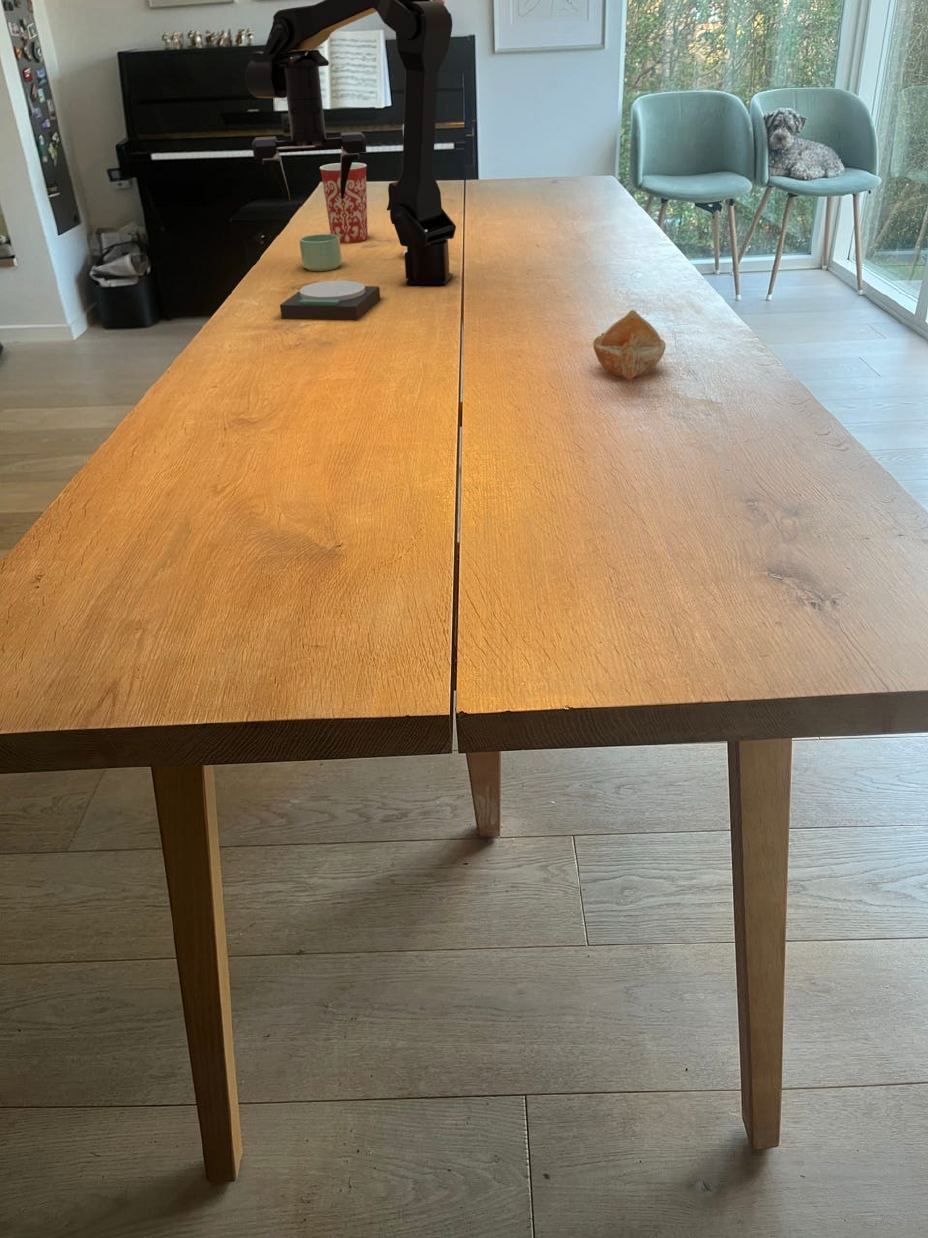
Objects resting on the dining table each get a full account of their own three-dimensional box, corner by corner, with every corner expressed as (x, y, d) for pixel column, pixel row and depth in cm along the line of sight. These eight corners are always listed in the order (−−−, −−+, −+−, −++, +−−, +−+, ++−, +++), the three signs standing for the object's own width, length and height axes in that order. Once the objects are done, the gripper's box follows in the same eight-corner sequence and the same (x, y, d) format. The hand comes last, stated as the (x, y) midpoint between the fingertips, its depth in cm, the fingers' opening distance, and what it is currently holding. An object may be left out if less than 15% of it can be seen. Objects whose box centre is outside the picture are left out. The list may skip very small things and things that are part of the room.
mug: (369, 243, 193) (363, 167, 186) (323, 244, 193) (315, 169, 186) (377, 230, 203) (371, 158, 196) (333, 231, 204) (326, 160, 197)
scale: (380, 299, 155) (379, 280, 154) (357, 319, 146) (355, 300, 144) (308, 297, 158) (306, 279, 156) (281, 318, 148) (278, 299, 147)
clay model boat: (590, 398, 113) (593, 310, 108) (594, 343, 131) (596, 265, 126) (667, 399, 112) (673, 310, 107) (660, 343, 130) (665, 265, 125)
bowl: (347, 263, 178) (344, 233, 176) (334, 272, 173) (331, 242, 170) (310, 262, 180) (307, 233, 177) (297, 271, 174) (293, 241, 171)
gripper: (358, 91, 170) (367, 189, 178) (249, 97, 168) (262, 196, 176) (362, 96, 160) (370, 199, 169) (246, 102, 159) (260, 206, 167)
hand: (315, 200), depth 170 cm, fingers open, 9 cm apart
